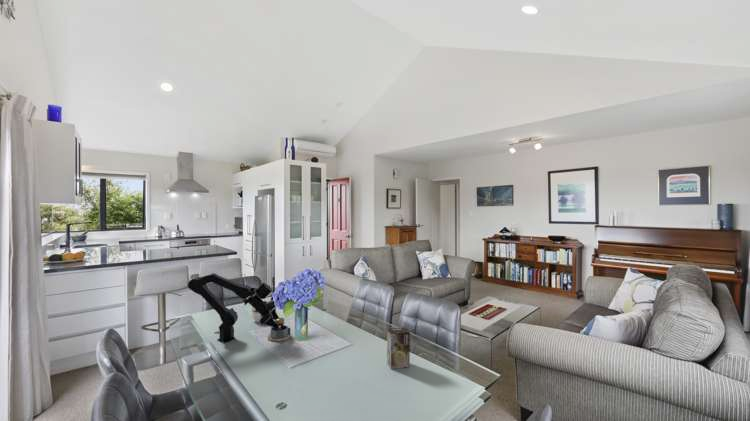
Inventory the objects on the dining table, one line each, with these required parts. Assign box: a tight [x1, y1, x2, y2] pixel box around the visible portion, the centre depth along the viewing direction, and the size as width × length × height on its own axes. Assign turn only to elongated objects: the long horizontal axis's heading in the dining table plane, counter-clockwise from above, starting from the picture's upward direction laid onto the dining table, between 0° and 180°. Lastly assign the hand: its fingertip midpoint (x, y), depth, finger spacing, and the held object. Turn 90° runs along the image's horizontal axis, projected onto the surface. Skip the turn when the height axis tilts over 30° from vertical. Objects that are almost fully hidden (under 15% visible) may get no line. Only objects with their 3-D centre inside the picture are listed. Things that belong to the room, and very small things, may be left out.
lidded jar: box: [251, 307, 261, 323], centre depth 200 cm, size 11×11×9 cm
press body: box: [267, 324, 292, 343], centre depth 176 cm, size 12×12×5 cm
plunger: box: [274, 317, 285, 331], centre depth 176 cm, size 7×7×9 cm
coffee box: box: [386, 327, 411, 370], centre depth 147 cm, size 9×6×16 cm
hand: (278, 324), depth 175 cm, fingers open, 9 cm apart
